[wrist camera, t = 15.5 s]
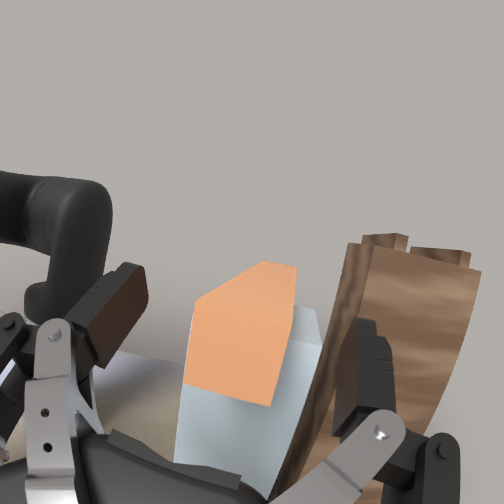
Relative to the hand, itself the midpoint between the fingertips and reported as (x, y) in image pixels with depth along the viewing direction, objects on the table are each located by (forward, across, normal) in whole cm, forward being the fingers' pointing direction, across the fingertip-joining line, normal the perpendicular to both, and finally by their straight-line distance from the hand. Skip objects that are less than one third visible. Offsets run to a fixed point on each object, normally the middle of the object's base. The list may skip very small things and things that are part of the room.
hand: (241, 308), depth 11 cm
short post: (0, 0, +33) cm, 33 cm away
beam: (+9, 0, +10) cm, 14 cm away
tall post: (0, -12, +33) cm, 35 cm away
